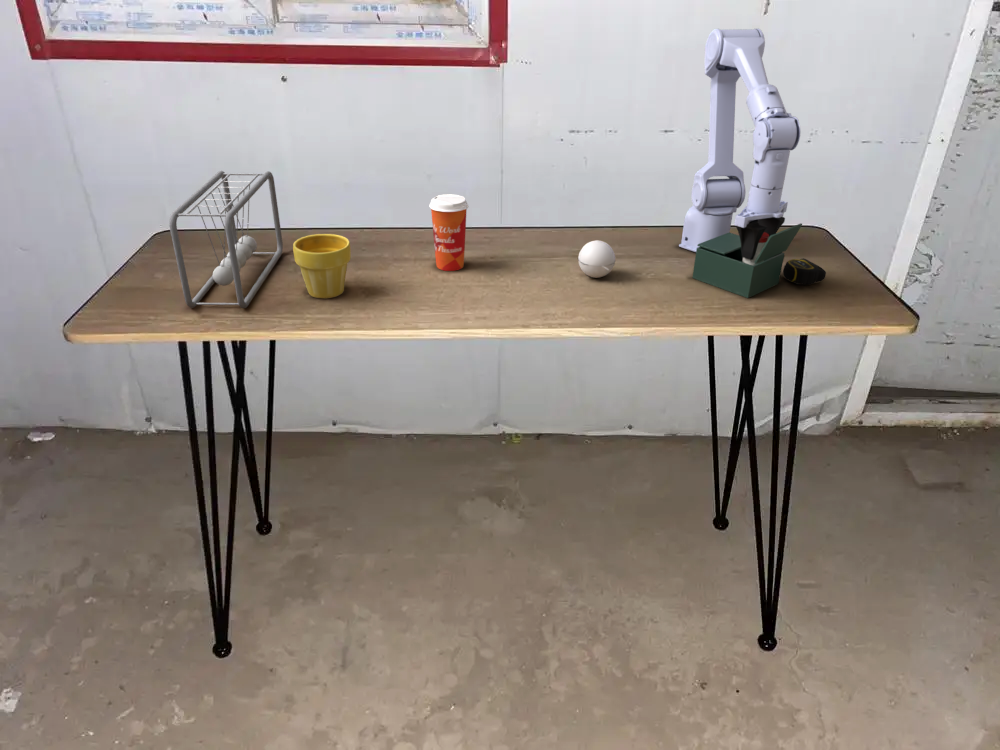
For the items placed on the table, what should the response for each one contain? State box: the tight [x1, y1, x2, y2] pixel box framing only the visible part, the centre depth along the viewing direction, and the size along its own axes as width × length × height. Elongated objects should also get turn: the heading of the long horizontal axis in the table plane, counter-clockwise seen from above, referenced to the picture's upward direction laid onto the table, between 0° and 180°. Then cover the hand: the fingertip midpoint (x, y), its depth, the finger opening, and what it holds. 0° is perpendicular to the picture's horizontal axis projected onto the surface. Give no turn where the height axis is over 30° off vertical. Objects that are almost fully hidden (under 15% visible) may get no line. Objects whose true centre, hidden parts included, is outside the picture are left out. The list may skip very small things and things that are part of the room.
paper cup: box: [429, 193, 470, 272], centre depth 155 cm, size 8×8×14 cm
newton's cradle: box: [168, 170, 284, 309], centre depth 147 cm, size 30×10×18 cm, turn 0°
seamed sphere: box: [577, 239, 616, 279], centre depth 152 cm, size 10×7×7 cm
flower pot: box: [292, 233, 352, 299], centre depth 145 cm, size 10×10×10 cm
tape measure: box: [782, 258, 827, 286], centre depth 153 cm, size 7×7×4 cm
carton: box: [691, 231, 785, 299], centre depth 152 cm, size 13×11×7 cm
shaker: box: [742, 232, 769, 266], centre depth 148 cm, size 4×4×6 cm
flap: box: [754, 223, 803, 264], centre depth 144 cm, size 6×11×1 cm
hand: (753, 255), depth 149 cm, fingers closed on shaker, 4 cm apart
